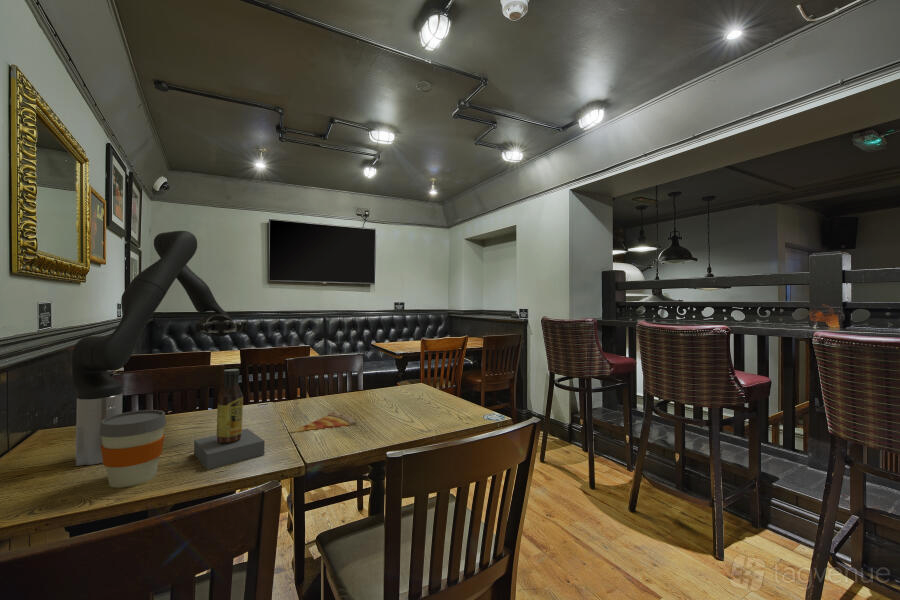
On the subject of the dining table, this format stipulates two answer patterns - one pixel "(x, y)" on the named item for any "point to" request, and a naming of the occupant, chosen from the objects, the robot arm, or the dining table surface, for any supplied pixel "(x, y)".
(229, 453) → the charcoal base
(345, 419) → the pizza slice
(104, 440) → the reusable coffee cup
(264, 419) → the dining table surface
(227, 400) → the sauce bottle
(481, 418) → the dining table surface
